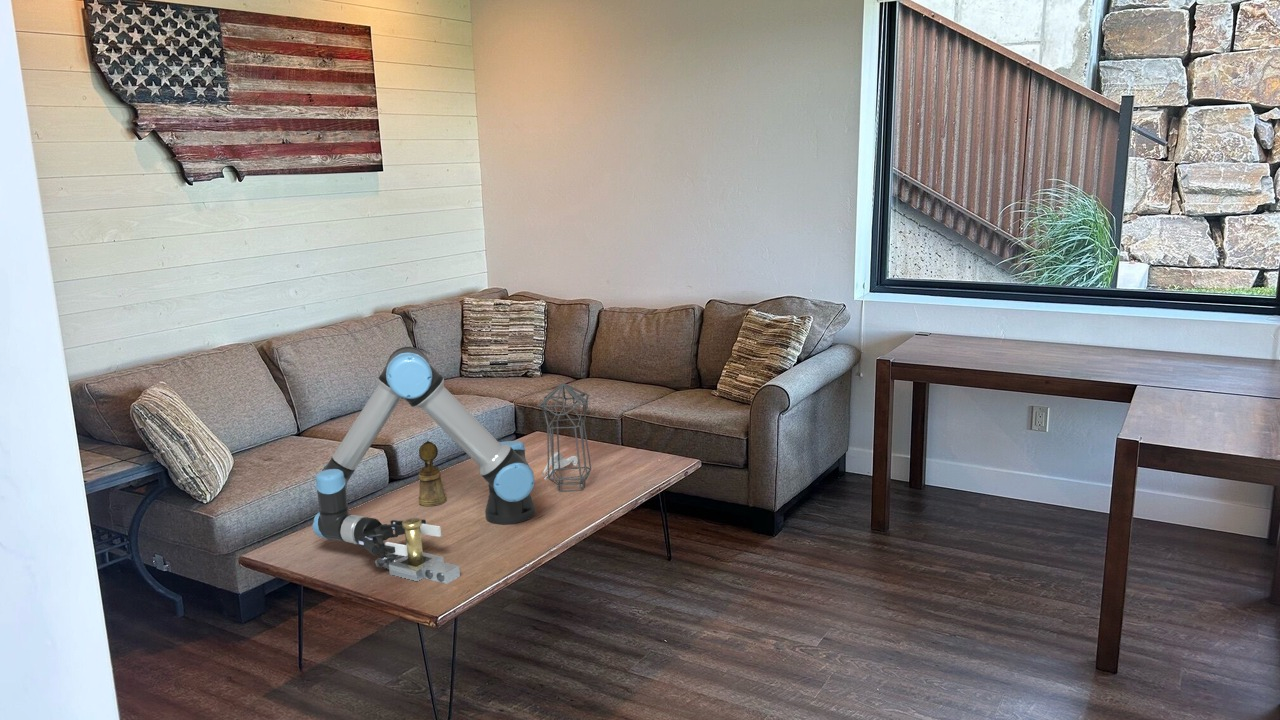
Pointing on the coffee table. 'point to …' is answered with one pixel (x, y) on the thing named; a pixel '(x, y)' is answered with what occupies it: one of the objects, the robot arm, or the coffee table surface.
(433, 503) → the brass bell
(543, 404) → the geometric lantern
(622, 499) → the coffee table surface
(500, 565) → the coffee table surface
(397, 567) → the grey link plate
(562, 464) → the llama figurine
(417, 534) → the pin
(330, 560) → the coffee table surface
